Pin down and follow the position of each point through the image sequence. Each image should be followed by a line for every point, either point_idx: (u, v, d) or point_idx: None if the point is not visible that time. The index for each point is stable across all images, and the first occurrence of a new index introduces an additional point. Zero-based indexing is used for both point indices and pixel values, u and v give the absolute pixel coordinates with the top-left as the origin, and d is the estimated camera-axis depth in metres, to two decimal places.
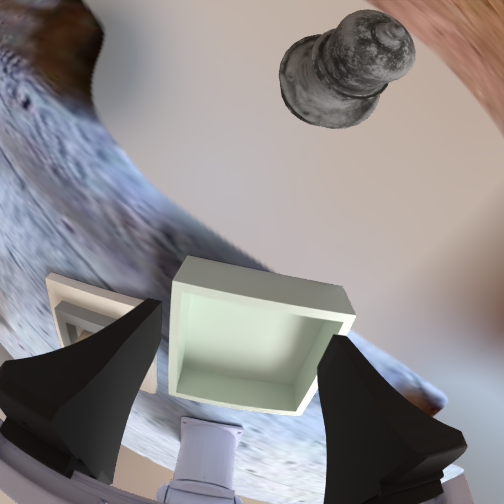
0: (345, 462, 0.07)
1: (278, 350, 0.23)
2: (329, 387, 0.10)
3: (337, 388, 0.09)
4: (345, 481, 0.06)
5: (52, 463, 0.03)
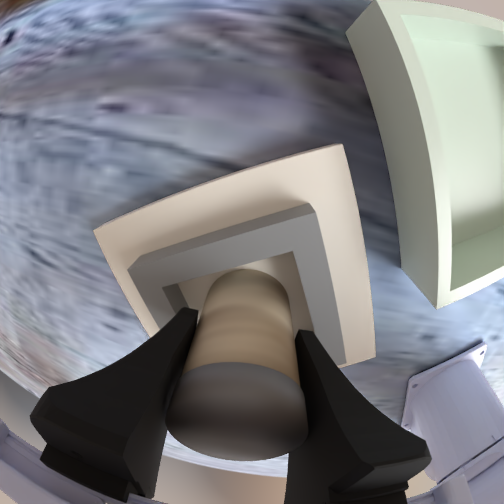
0: (302, 463, 0.06)
1: None
2: None
3: None
4: (301, 483, 0.06)
5: (52, 463, 0.03)
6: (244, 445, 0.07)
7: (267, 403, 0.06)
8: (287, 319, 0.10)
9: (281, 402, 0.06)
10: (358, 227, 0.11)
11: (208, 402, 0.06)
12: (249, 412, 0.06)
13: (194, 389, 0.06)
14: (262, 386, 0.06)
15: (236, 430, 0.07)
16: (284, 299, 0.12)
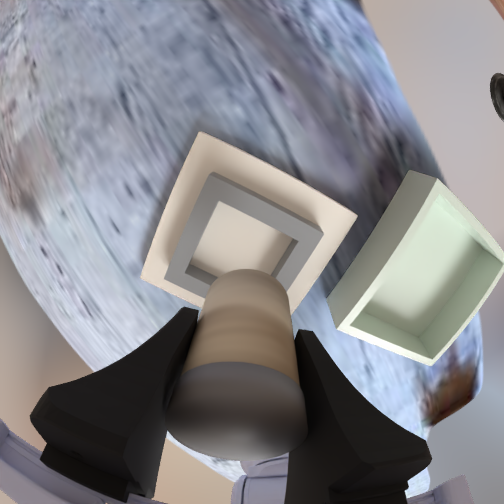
0: (302, 464, 0.06)
1: (432, 292, 0.21)
2: None
3: None
4: (301, 484, 0.06)
5: (52, 463, 0.03)
6: (244, 445, 0.07)
7: (267, 403, 0.06)
8: (287, 319, 0.10)
9: (281, 402, 0.06)
10: (328, 257, 0.19)
11: (207, 402, 0.06)
12: (248, 412, 0.06)
13: (194, 388, 0.06)
14: (262, 386, 0.06)
15: (235, 430, 0.07)
16: (284, 299, 0.12)
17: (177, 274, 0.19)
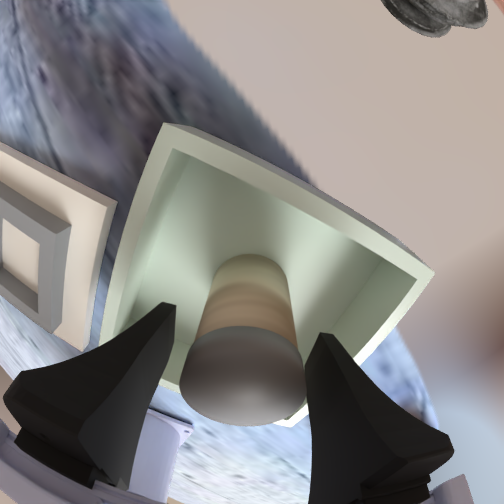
0: (328, 463, 0.06)
1: None
2: (315, 386, 0.10)
3: (322, 387, 0.09)
4: (328, 482, 0.06)
5: (52, 463, 0.03)
6: (249, 407, 0.08)
7: (271, 360, 0.08)
8: (287, 297, 0.12)
9: (283, 359, 0.08)
10: (91, 263, 0.14)
11: (220, 359, 0.08)
12: (255, 369, 0.08)
13: (209, 348, 0.08)
14: (267, 345, 0.08)
15: (243, 389, 0.08)
16: (284, 280, 0.13)
17: None
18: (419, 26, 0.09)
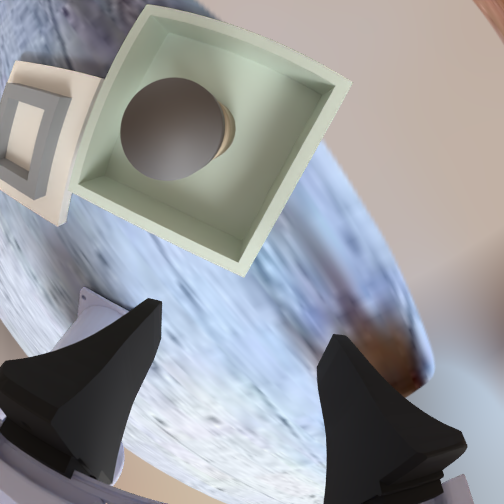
0: (345, 462, 0.07)
1: (234, 160, 0.17)
2: (329, 387, 0.10)
3: (337, 388, 0.09)
4: (345, 481, 0.06)
5: (52, 463, 0.03)
6: (173, 145, 0.10)
7: (188, 84, 0.09)
8: (224, 107, 0.13)
9: (197, 83, 0.09)
10: (80, 125, 0.15)
11: (152, 88, 0.09)
12: (176, 93, 0.09)
13: (146, 88, 0.09)
14: None
15: (167, 119, 0.09)
16: (227, 108, 0.14)
17: None
18: None
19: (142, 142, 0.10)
